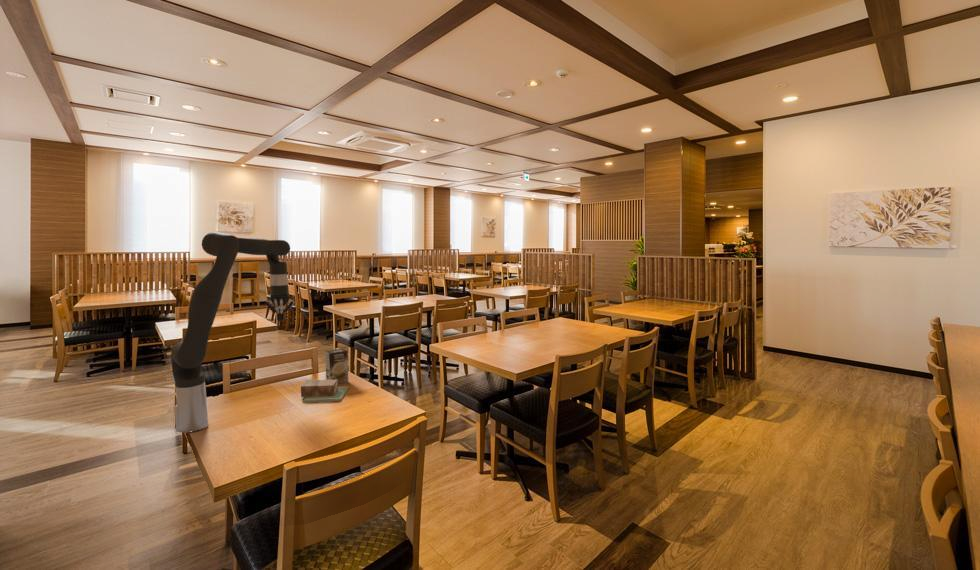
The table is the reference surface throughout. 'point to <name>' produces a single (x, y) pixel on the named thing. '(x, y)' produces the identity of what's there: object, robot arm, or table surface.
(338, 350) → the coffee box
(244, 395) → the table surface
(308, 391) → the walnut block
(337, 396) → the mat
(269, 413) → the table surface
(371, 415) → the table surface
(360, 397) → the table surface
